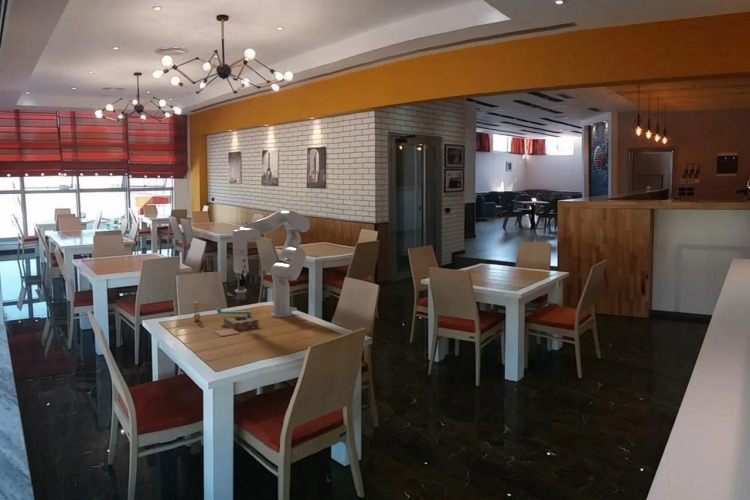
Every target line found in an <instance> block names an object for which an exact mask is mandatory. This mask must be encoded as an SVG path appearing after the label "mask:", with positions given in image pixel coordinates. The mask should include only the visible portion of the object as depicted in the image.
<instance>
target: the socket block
mask: <svg viewBox="0 0 750 500" xmlns="http://www.w3.org/2000/svg"><path fill="white" fill-rule="evenodd" d="M251 314H252V313H251ZM251 314H241V315H237V316H236V315H235V316H230V317H229V316H228V317H223V326H225V327H226V328H228V329H234V330H236V331H240V330H241V331H242V330H246V329H253V328H259V319H258V318H255V317H253V316H251Z"/></svg>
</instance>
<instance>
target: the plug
mask: <svg viewBox="0 0 750 500" xmlns="http://www.w3.org/2000/svg"><path fill="white" fill-rule="evenodd" d="M239 279H240V274H239V273H237V281H238V285H237V289H235V290H234V292H235V293H236V300H237V301H245V300H246V293H247V289H246V288H245V286H242V287H240V285H239Z"/></svg>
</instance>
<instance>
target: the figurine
mask: <svg viewBox="0 0 750 500" xmlns="http://www.w3.org/2000/svg"><path fill="white" fill-rule="evenodd" d="M191 306H194V307H193V309H194V314H193V320H194V321H196V322H197V321H200V319H201V314H200V313H199V312H200V306H201V307H202V308H203V309H205V307H204V306H203V304H202V303H200V302H198V300H195V302H193V303H191V304H190V305H189V307H188V310H190V309H191ZM196 311H197V312H196Z"/></svg>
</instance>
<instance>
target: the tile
mask: <svg viewBox="0 0 750 500" xmlns="http://www.w3.org/2000/svg"><path fill="white" fill-rule="evenodd" d="M213 333H214V334H216V335H218V336H219V337H228V336H234V335H240V334H241V333H240V332H239V330H234V329H230V328H228V329H227V328H226V329H220V330H214V331H213Z"/></svg>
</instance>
